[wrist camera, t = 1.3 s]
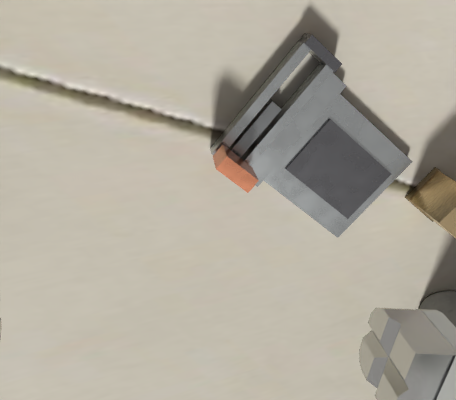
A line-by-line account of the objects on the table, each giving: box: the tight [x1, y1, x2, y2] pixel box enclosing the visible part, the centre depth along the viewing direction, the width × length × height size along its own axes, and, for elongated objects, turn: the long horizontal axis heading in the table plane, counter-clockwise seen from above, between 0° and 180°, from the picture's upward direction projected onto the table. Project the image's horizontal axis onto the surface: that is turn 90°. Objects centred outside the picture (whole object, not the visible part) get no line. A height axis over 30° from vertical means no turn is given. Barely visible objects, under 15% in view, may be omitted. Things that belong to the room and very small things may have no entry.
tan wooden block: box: [405, 167, 456, 238], centre depth 49 cm, size 5×5×7 cm
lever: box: [213, 100, 282, 192], centre depth 43 cm, size 8×4×6 cm, turn 140°
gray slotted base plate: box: [210, 34, 412, 237], centre depth 47 cm, size 15×19×2 cm
